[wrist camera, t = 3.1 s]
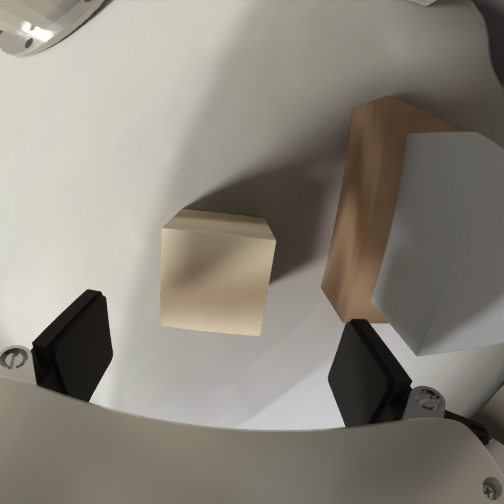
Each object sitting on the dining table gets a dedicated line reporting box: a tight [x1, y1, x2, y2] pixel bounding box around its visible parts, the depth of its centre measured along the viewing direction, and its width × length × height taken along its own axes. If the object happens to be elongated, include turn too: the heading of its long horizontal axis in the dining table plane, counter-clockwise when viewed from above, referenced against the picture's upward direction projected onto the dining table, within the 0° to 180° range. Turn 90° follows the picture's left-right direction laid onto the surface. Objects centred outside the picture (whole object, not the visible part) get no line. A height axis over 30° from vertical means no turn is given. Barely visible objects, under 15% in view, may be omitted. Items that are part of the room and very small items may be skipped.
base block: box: [321, 96, 465, 323], centre depth 16 cm, size 12×12×5 cm
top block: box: [371, 132, 504, 356], centre depth 11 cm, size 9×9×5 cm
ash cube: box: [161, 209, 276, 336], centre depth 15 cm, size 5×5×5 cm
